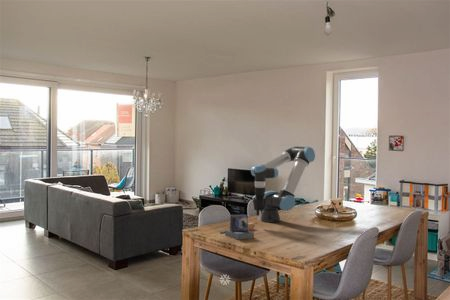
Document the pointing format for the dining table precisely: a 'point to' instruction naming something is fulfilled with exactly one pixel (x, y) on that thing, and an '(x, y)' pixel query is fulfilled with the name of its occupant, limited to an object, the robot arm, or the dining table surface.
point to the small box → (239, 223)
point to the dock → (239, 234)
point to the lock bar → (251, 226)
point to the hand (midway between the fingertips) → (259, 219)
